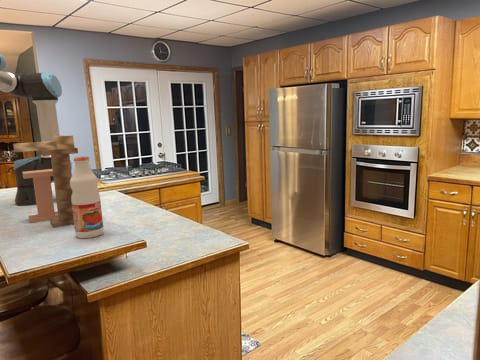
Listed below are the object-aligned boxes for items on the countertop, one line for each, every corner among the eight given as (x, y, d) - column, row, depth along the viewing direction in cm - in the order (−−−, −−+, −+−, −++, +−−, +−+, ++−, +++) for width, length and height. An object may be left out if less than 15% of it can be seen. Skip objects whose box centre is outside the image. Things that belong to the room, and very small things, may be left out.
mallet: (70, 147, 148) (69, 135, 147) (74, 148, 142) (73, 135, 141) (13, 151, 136) (11, 138, 136) (15, 152, 131) (13, 138, 130)
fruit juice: (89, 229, 136) (81, 155, 131) (109, 231, 133) (101, 155, 128) (69, 237, 127) (59, 158, 123) (90, 239, 124) (81, 158, 119)
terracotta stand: (62, 213, 162) (56, 168, 158) (64, 217, 155) (59, 170, 152) (28, 219, 155) (22, 171, 151) (30, 223, 148) (23, 173, 145)
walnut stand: (81, 217, 154) (73, 147, 149) (85, 222, 147) (77, 148, 142) (50, 222, 148) (40, 149, 143) (53, 227, 140) (43, 150, 135)
